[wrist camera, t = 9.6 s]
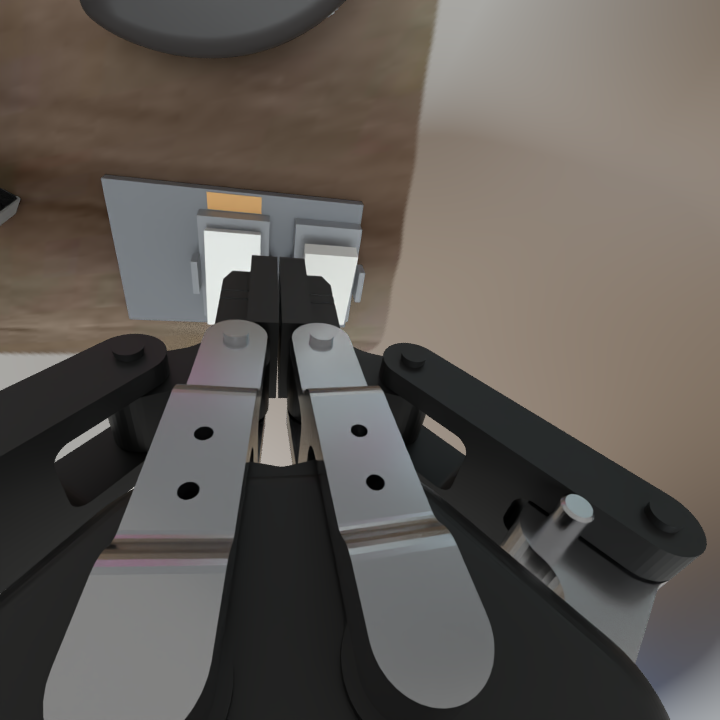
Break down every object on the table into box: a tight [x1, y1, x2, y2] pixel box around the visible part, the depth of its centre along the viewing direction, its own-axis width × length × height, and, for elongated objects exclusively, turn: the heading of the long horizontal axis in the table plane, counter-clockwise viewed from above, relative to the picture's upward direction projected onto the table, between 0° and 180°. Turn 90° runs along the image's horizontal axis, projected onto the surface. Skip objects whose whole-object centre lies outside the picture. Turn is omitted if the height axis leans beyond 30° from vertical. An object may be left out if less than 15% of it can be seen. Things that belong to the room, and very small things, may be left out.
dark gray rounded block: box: [80, 0, 346, 58], centre depth 25 cm, size 16×5×9 cm, turn 102°
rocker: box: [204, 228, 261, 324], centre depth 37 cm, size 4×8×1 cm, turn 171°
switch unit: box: [101, 175, 365, 327], centre depth 38 cm, size 21×13×4 cm, turn 81°
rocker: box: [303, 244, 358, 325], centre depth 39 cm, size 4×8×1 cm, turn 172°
